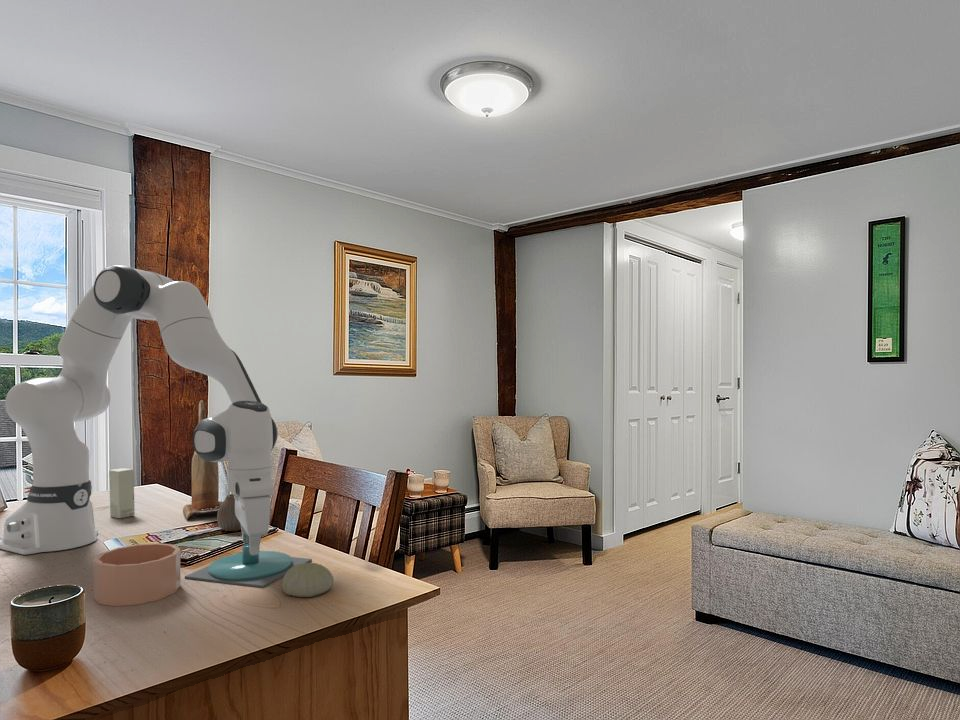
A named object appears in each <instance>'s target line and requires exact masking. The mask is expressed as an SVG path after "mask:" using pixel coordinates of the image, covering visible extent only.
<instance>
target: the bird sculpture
mask: <svg viewBox="0 0 960 720" xmlns="http://www.w3.org/2000/svg"><path fill="white" fill-rule="evenodd" d="M205 407H206V406H205V403H204V400H203V399H201V400H200V401H199V404H198V423H197V425H198V424H199V422H200V421H202V420H203V419H207V415H206V408H205ZM219 478H220V475H219V462H206V461H204V460H203V459H201V458H200V457H199V456H198V455H197V453H196V452H195V451H194V452H193V456H192V458H191V503H190V504H185V505H184V506H183V508H182V513H183V516H184V519H185V521H186V522H187V521H188V519H189V518H190V517H191V516H192V515H195V513H201V512H210V511H216V510H217V511H218V509H219V507H220V505H221V504H222V503H223V501H222V500H221V501H220V500H219V496H220V495H219V493H220V492H219V488H220V485H219V482H220V479H219Z"/></svg>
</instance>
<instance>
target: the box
mask: <svg viewBox="0 0 960 720" xmlns="http://www.w3.org/2000/svg"><path fill="white" fill-rule="evenodd" d="M134 474H135V471H134V469H133V468H126V467H123V468H115V469H110V470H109V473H108V477H109V515H110V517H111V518H116V519H124V518H129V517H132V516H135V515H136V514H135V480H134V479H135V478H134Z"/></svg>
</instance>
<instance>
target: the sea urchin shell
mask: <svg viewBox="0 0 960 720" xmlns="http://www.w3.org/2000/svg"><path fill="white" fill-rule="evenodd" d="M333 585H334V576H333V574H332V572H331V570H329V568H327V567H326V566H324V565H322V564H319V563H316V562H309V563H302V564H297V565H295V566H294V567H291V569H289V570H288V571H287V573H286V574H285V576H283V577H282V580H281V586H282V591H283V592H284V593H285V594H286V595H287V596H291V595H292V597H298V598H311V597H314V596H320V595H321V594H324V593H326V592H328V591H329V590H330V589H331V588H332V587H333Z"/></svg>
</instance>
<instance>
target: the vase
mask: <svg viewBox="0 0 960 720" xmlns="http://www.w3.org/2000/svg"><path fill="white" fill-rule="evenodd" d="M222 502H223V503H222V504H221V505H220V507H219V506H218V507H219V509H218V510H217V514H216V520H217V524H218V526H219V528H220V529H221V530H222V531H223V530H225V531H224V532H226V531H232V532H238V531H240V530H241V523H240V522H239V520H238V519H237V517H236V515H235V498H234V493H229V494H227V495H226V497H225V499H224V500H223V501H222Z"/></svg>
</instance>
